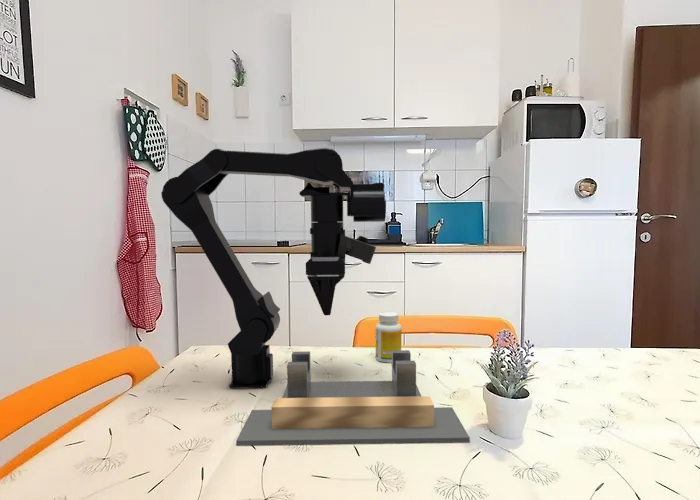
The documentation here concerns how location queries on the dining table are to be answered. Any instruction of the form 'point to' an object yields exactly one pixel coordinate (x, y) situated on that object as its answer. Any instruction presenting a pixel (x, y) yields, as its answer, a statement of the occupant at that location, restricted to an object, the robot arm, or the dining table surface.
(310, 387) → the cradle stand
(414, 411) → the oak bar
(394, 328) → the supplement bottle
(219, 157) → the robot arm
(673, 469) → the dining table surface
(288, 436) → the rubber mat
